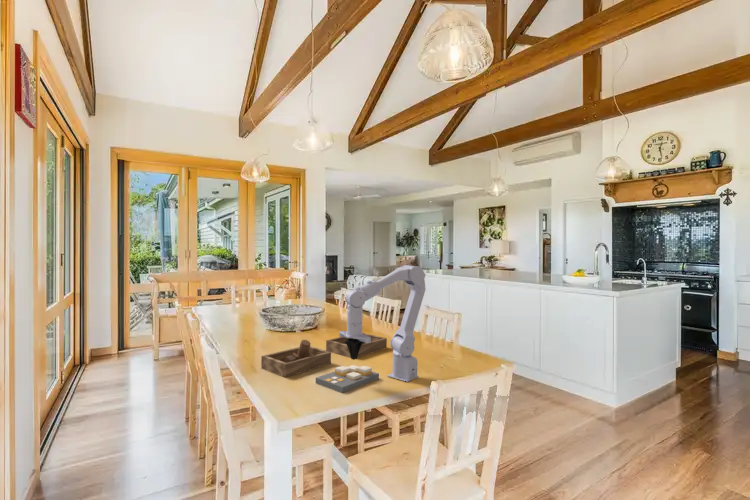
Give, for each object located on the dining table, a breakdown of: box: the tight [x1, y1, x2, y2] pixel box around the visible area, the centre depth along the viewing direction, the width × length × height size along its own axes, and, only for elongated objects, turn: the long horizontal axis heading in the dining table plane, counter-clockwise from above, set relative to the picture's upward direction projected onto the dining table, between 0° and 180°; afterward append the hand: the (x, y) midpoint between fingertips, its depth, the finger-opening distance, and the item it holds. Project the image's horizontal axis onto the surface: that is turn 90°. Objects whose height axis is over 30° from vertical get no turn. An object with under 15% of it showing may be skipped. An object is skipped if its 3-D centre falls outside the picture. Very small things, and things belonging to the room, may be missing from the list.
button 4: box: [334, 365, 350, 377], centre depth 153 cm, size 4×4×2 cm
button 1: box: [357, 365, 373, 376], centre depth 154 cm, size 4×4×2 cm
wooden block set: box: [285, 339, 311, 363], centre depth 166 cm, size 18×9×10 cm, turn 142°
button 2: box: [346, 372, 361, 380], centre depth 149 cm, size 4×4×2 cm
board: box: [315, 371, 380, 394], centre depth 151 cm, size 14×20×2 cm
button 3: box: [347, 364, 360, 372], centre depth 158 cm, size 4×4×2 cm
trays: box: [260, 332, 388, 378], centre depth 181 cm, size 18×60×5 cm, turn 140°
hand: (354, 358), depth 149 cm, fingers closed
